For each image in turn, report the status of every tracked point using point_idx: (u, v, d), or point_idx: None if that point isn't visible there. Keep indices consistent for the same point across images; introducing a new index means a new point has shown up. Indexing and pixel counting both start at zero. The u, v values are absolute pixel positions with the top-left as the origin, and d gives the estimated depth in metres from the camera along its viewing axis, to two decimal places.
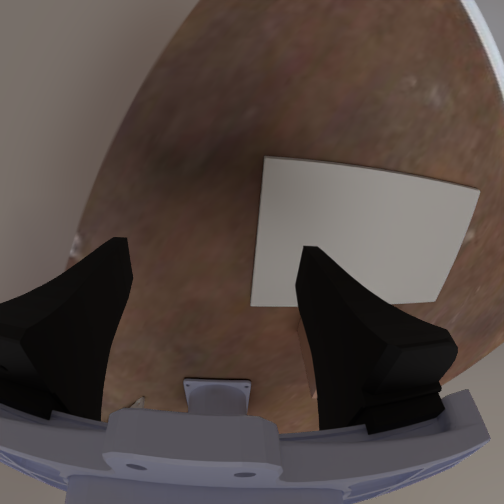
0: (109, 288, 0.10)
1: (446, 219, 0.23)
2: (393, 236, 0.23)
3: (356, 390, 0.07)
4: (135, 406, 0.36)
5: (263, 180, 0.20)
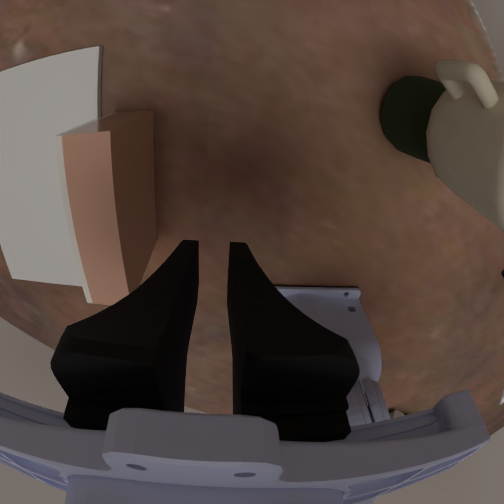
0: (189, 294, 0.10)
1: None
2: (22, 169, 0.18)
3: (239, 397, 0.06)
4: None
5: (22, 278, 0.24)
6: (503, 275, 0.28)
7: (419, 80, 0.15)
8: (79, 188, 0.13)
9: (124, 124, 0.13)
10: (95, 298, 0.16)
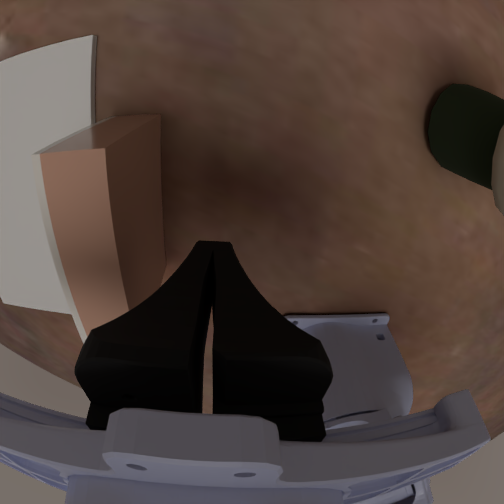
0: (207, 295, 0.10)
1: None
2: (5, 185, 0.15)
3: (213, 396, 0.06)
4: None
5: (14, 304, 0.21)
6: None
7: (471, 90, 0.12)
8: (67, 224, 0.09)
9: (124, 136, 0.10)
10: None
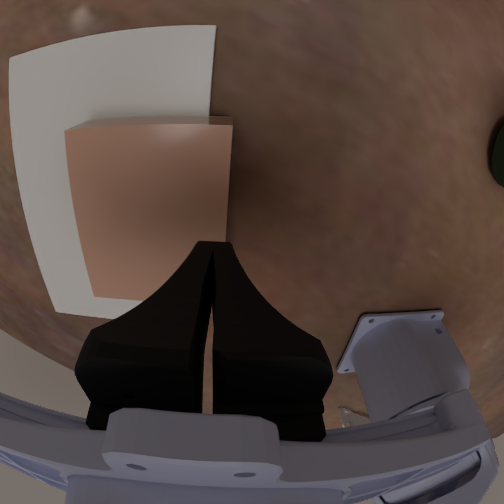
0: (207, 295, 0.10)
1: (47, 98, 0.13)
2: None
3: (213, 396, 0.06)
4: None
5: (71, 312, 0.21)
6: None
7: None
8: None
9: (99, 127, 0.12)
10: None
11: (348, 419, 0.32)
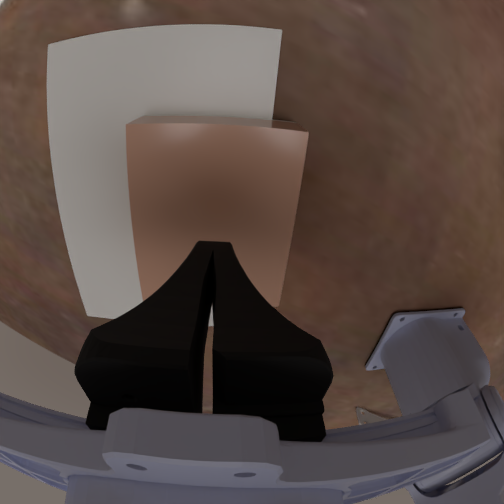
0: (207, 295, 0.10)
1: (94, 89, 0.13)
2: None
3: (213, 396, 0.06)
4: None
5: (105, 316, 0.22)
6: None
7: None
8: None
9: (168, 124, 0.12)
10: None
11: (364, 418, 0.33)
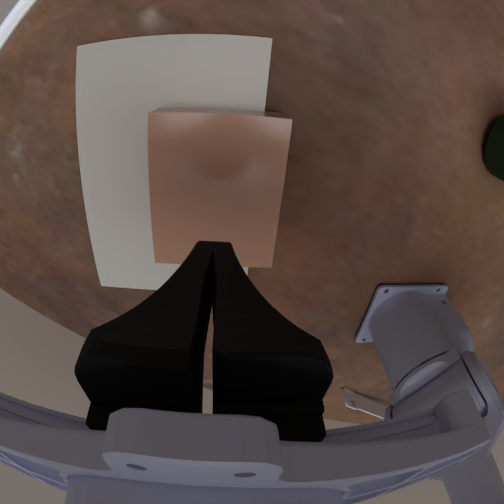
0: (207, 295, 0.10)
1: (118, 85, 0.16)
2: (147, 159, 0.19)
3: (213, 396, 0.06)
4: None
5: (117, 286, 0.25)
6: None
7: None
8: None
9: (182, 113, 0.15)
10: None
11: (351, 398, 0.36)
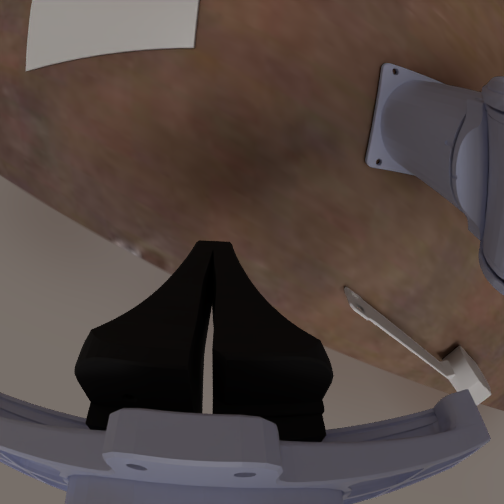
0: (207, 295, 0.10)
1: None
2: None
3: (213, 396, 0.06)
4: None
5: (42, 66, 0.14)
6: None
7: None
8: None
9: None
10: None
11: (358, 303, 0.26)
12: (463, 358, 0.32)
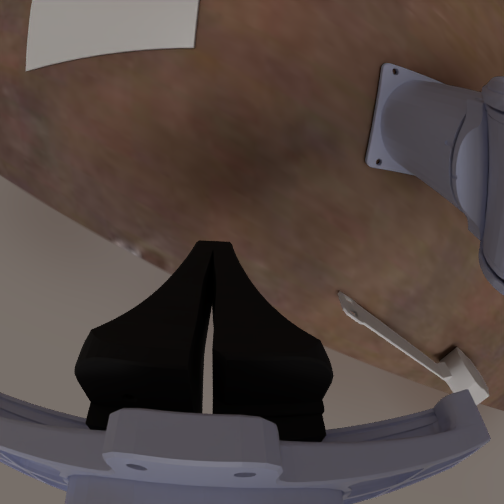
0: (207, 295, 0.10)
1: None
2: None
3: (213, 396, 0.06)
4: None
5: (42, 66, 0.14)
6: None
7: None
8: None
9: None
10: None
11: (352, 307, 0.26)
12: (460, 360, 0.32)
